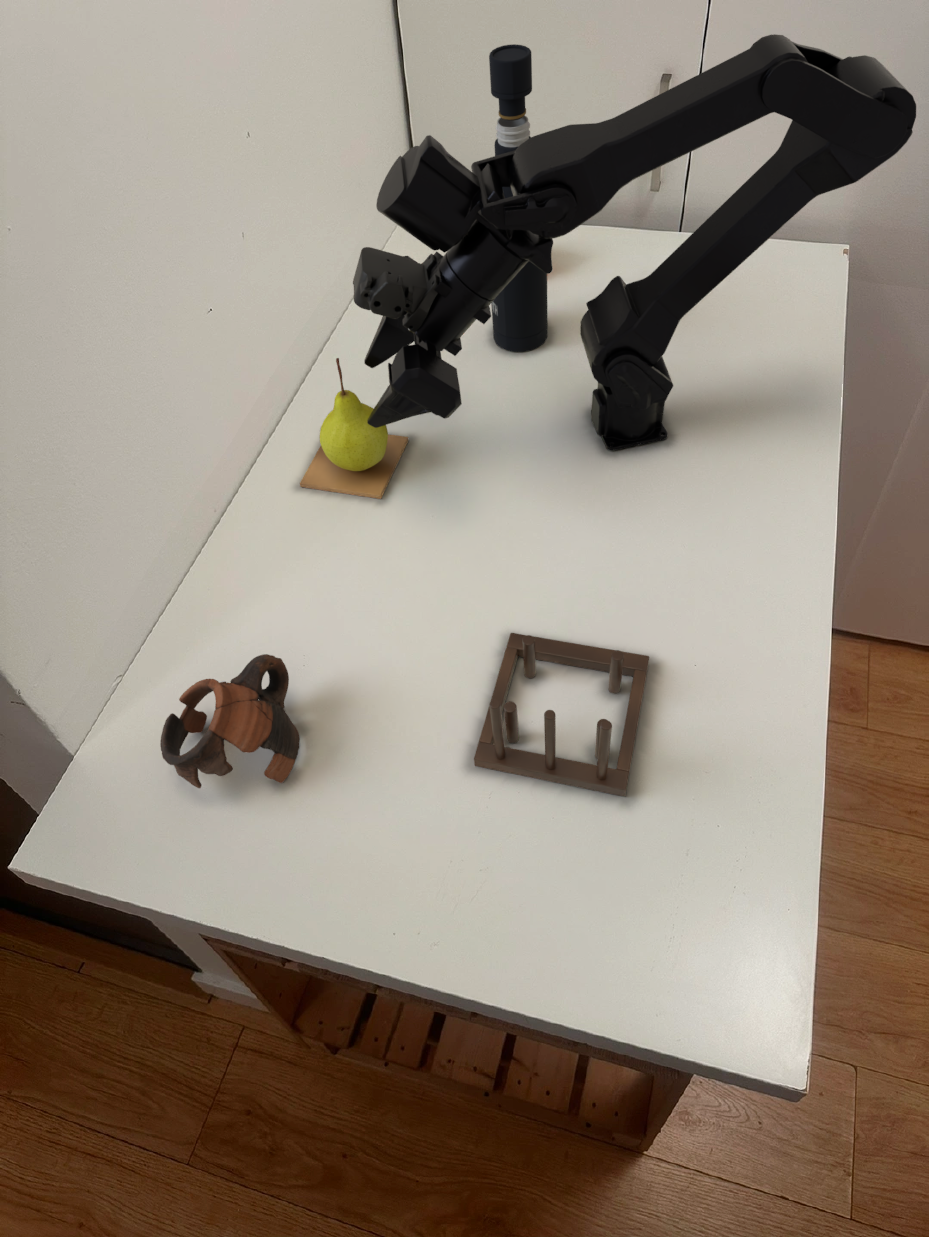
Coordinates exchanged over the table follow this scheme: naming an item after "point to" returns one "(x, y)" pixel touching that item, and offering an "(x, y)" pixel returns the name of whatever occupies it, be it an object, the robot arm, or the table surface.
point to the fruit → (352, 433)
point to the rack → (549, 764)
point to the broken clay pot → (235, 723)
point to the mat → (355, 472)
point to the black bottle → (526, 294)
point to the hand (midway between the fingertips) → (369, 394)
